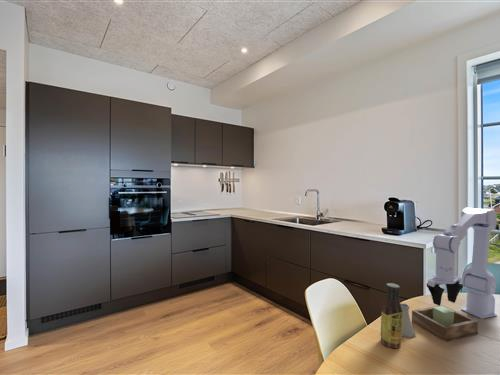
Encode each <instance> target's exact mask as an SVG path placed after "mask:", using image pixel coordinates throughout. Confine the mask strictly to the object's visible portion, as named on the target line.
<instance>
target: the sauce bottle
mask: <svg viewBox="0 0 500 375" xmlns="http://www.w3.org/2000/svg"><path fill="white" fill-rule="evenodd" d="M385 286H386V294H385V296H386V297H385V298H384V300H383V301H382V303H381V315H380V316H381V318H380V341H381V343H382V345H384V346H386V347H388V348H391V349H399V348H400V347H401V344H402V338H403V336H402V316H403V311H402V308H401V304H400V303H401V301H400V290H401V287H400V285H399V284H396V283H393V282H388V283H386V284H385Z"/></svg>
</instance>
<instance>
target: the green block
mask: <svg viewBox="0 0 500 375" xmlns="http://www.w3.org/2000/svg"><path fill="white" fill-rule="evenodd" d="M443 306H444V305H443ZM443 306H439V307H434V306H433V307H434V308H433V320H434V321H436V322H438V323H440V324H442V325H444V326H448V325H452V324H454V311H455V310H454V311H452V310H453V309H452V310H450V309H451V308H450V309H447V308H448V307H447V308H445V307H446V306H445V307H443Z"/></svg>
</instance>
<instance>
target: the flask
mask: <svg viewBox="0 0 500 375" xmlns="http://www.w3.org/2000/svg"><path fill="white" fill-rule="evenodd" d="M400 304H401V308H402V311H403V316H402V337H404V338H405V337H406V338H413V337H414V338H415V337H416V333H415V330H414V327H413V325H412V320H411V318H410V314H409V311H410V310H409V309H410V308H411V307H410V305H409V304H407V303H403V302H400Z"/></svg>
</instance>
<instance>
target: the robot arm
mask: <svg viewBox="0 0 500 375" xmlns="http://www.w3.org/2000/svg"><path fill="white" fill-rule="evenodd" d="M460 214H461V218H460V219H459V220H458V222H457V223H452V224H451V225H450V226H449V227H447V228H446V229H445V231H443V232H442V233H439V234H436V235H434V237H433V241H432V247H433V249H434V254H435V274H433V275H432V278H430V279H427V283H426V287H427V288H428V290H429V293H430V296H431V299H432V302H433V304H434V305H435V306H440V305H442V297H443V294H444V291H445V288H443V287H441V285H445V286H446V293H447V301H448V302H451V303H453V304H455V303H456V301H457V298H458V295H459V294H460V292H461V290H462V289H463V288H464V290H465V291H466V306H465V307H461V308H460V310H461V311H464V312H465V313H468V314H471V315H473V316H475V317H477V318H479V319H486V318H491V317H495V316H498V313H496V312H495V311H496V309H495V308H496V299H495V296H494V294H495V293H496V290H497V282H496V276H495V275H494V274H493V273H492V272H490V271H489V270H488V261H489V251H490V241H491V232H492V231H494V230H496V227H497V223H498V222H497V220H498V219H497V218H498V215H497V213H496V211H495V210H494V209H492V208H490V209H488V208H487V209H486V208H477V207H475V208H474V207H464V208H463V209H462V210H461V213H460ZM470 228H472V229H473V230H474V235H473V246H472V259H471V266H470V267H468V268H465V269H464V270H463V274H462V277H460V276H458V275H456V253H457V252H458V250H459V249H460V248H459V247H460V246H461V241H462V240H463V239H464V238H465V237H466V236H467V235H468V232H467V231H468V230H469V229H470Z"/></svg>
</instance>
